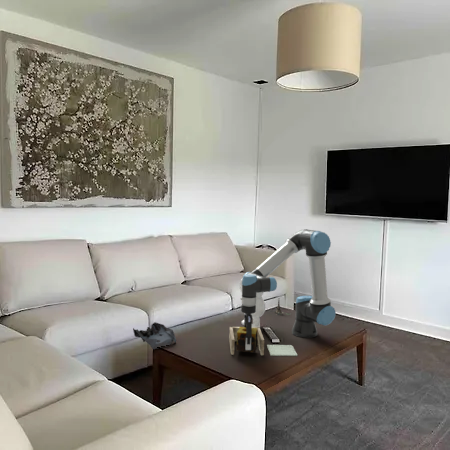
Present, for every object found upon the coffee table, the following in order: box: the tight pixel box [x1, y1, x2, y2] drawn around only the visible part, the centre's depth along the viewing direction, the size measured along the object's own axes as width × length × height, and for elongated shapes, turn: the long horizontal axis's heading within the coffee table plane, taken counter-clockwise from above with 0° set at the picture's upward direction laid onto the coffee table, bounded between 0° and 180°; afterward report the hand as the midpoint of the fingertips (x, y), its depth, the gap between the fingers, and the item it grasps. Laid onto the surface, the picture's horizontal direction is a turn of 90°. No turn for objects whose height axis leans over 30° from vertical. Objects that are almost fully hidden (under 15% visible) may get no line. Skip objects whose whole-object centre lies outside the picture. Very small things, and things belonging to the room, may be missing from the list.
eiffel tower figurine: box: [273, 299, 292, 316], centre depth 297 cm, size 15×10×13 cm
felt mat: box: [266, 344, 298, 357], centre depth 228 cm, size 14×14×1 cm
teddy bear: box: [239, 277, 266, 328], centre depth 266 cm, size 19×18×35 cm
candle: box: [235, 326, 258, 354], centre depth 222 cm, size 10×10×10 cm
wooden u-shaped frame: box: [228, 326, 265, 356], centre depth 230 cm, size 17×21×8 cm
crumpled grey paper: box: [132, 321, 177, 350], centre depth 233 cm, size 18×20×9 cm
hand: (247, 345), depth 222 cm, fingers closed on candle, 11 cm apart
